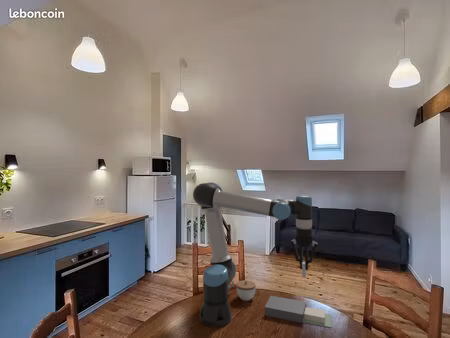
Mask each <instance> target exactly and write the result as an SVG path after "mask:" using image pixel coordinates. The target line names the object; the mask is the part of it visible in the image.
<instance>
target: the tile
mask: <svg viewBox="0 0 450 338" xmlns="http://www.w3.org/2000/svg"><path fill="white" fill-rule="evenodd" d="M325 314H326V310H324V309H319V308H313V307H307V306H306V308H305V312H304V319H306V320H311V321H316V322H321V323H325Z"/></svg>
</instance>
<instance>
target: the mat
mask: <svg viewBox="0 0 450 338" xmlns="http://www.w3.org/2000/svg"><path fill="white" fill-rule="evenodd" d="M303 323H305V324H311V325H315V326H320V327H324V328H331V329H332V314H328V313H325V323H321V322H316V321H311V320H306V319H304V320H303Z"/></svg>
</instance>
